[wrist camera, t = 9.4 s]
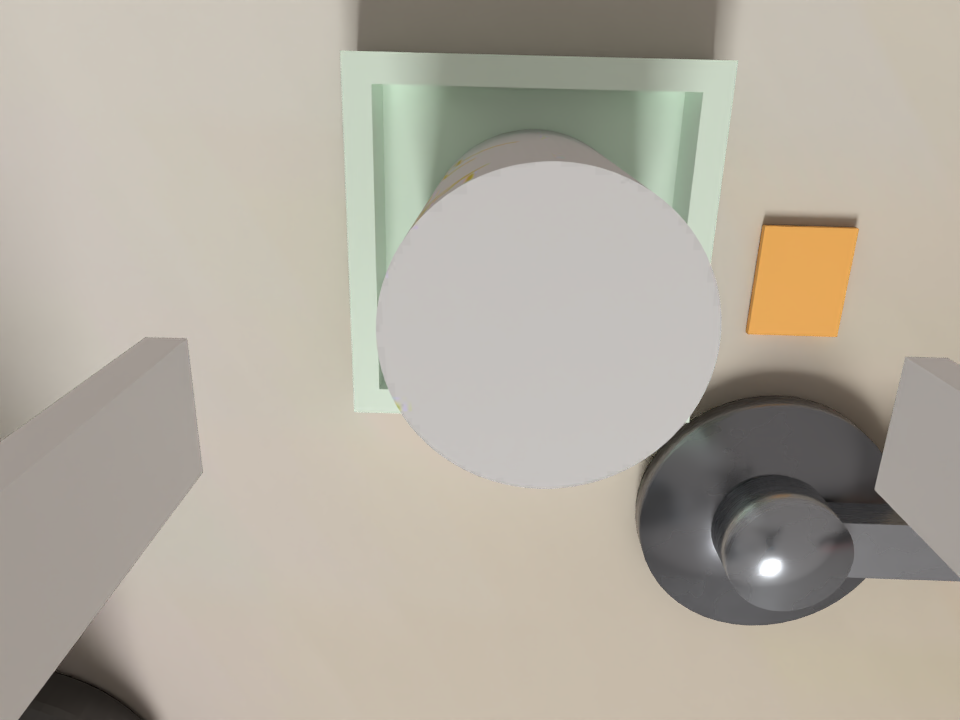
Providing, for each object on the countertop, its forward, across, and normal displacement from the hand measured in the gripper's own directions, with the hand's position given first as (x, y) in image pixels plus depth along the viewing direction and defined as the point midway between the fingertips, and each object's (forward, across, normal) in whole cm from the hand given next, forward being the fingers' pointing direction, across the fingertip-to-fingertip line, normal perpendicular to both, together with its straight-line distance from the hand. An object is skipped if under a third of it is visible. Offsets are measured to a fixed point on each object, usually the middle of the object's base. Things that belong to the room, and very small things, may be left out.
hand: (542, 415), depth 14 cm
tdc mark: (+16, +12, -1) cm, 20 cm away
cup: (+16, +1, 0) cm, 16 cm away
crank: (+15, +16, -12) cm, 25 cm away
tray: (+17, 0, 0) cm, 17 cm away
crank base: (+16, +12, -12) cm, 23 cm away
